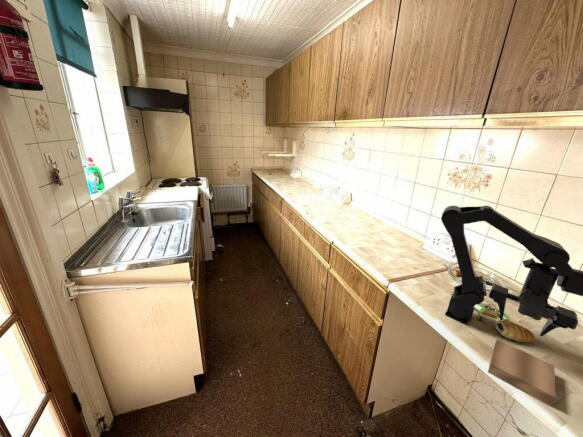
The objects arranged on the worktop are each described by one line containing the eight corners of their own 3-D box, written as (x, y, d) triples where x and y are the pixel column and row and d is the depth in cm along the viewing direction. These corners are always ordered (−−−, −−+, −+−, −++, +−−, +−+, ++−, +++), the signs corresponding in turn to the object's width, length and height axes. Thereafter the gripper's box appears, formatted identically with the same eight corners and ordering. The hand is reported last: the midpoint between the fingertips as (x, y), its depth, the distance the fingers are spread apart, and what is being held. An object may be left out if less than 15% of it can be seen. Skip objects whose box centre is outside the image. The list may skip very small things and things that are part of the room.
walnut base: (487, 372, 65) (491, 363, 64) (493, 346, 73) (496, 339, 72) (550, 406, 57) (555, 397, 56) (549, 373, 66) (554, 365, 65)
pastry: (525, 331, 80) (529, 322, 79) (539, 347, 73) (543, 337, 72) (492, 324, 82) (495, 315, 81) (502, 339, 76) (506, 329, 75)
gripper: (494, 281, 71) (478, 324, 76) (591, 313, 59) (565, 362, 64) (499, 267, 79) (484, 307, 84) (585, 294, 67) (562, 339, 72)
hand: (520, 327), depth 76 cm, fingers open, 9 cm apart
